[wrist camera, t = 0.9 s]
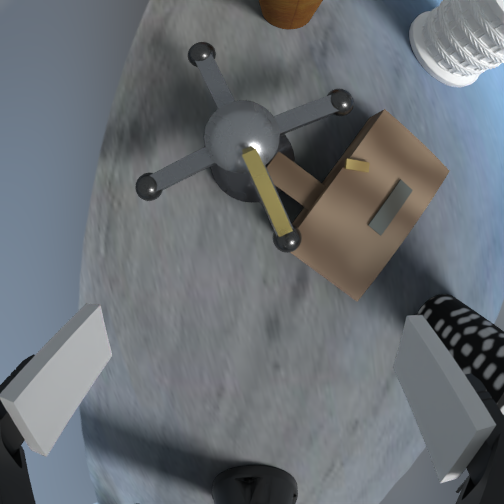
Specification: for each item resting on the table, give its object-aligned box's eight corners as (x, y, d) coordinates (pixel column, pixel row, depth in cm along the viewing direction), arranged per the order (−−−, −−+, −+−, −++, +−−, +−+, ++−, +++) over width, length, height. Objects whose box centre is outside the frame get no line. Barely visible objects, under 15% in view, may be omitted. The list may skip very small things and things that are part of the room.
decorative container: (403, 6, 30) (464, -62, 13) (469, 26, 30) (540, -18, 12) (414, 78, 33) (498, 28, 15) (481, 95, 32) (570, 69, 15)
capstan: (127, 112, 34) (81, 90, 23) (293, 37, 32) (304, -12, 21) (201, 274, 38) (178, 310, 27) (370, 200, 36) (412, 208, 25)
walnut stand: (346, 287, 38) (358, 303, 33) (237, 208, 37) (233, 212, 31) (429, 171, 35) (452, 170, 30) (328, 86, 33) (339, 71, 28)
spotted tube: (401, 333, 39) (476, 424, 20) (437, 283, 38) (534, 349, 18) (436, 356, 40) (507, 440, 21) (469, 310, 39) (557, 376, 19)
